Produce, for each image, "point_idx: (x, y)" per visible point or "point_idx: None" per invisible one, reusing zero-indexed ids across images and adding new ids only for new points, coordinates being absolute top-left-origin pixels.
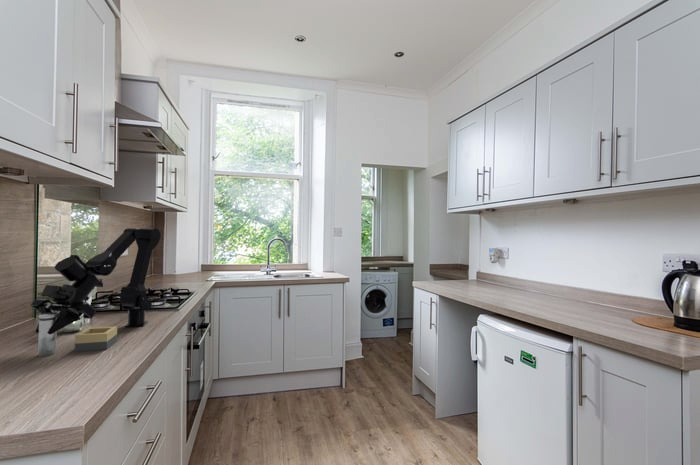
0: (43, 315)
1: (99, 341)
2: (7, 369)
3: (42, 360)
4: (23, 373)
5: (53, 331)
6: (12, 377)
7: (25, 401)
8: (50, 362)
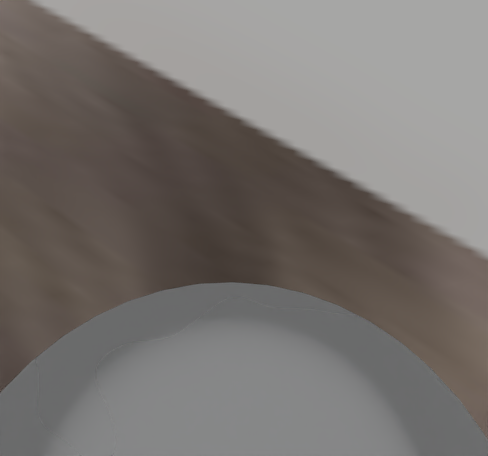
0: (125, 305)
1: None
2: (181, 94)
3: (121, 272)
4: (10, 74)
5: None
6: (15, 22)
7: None
8: (18, 255)
